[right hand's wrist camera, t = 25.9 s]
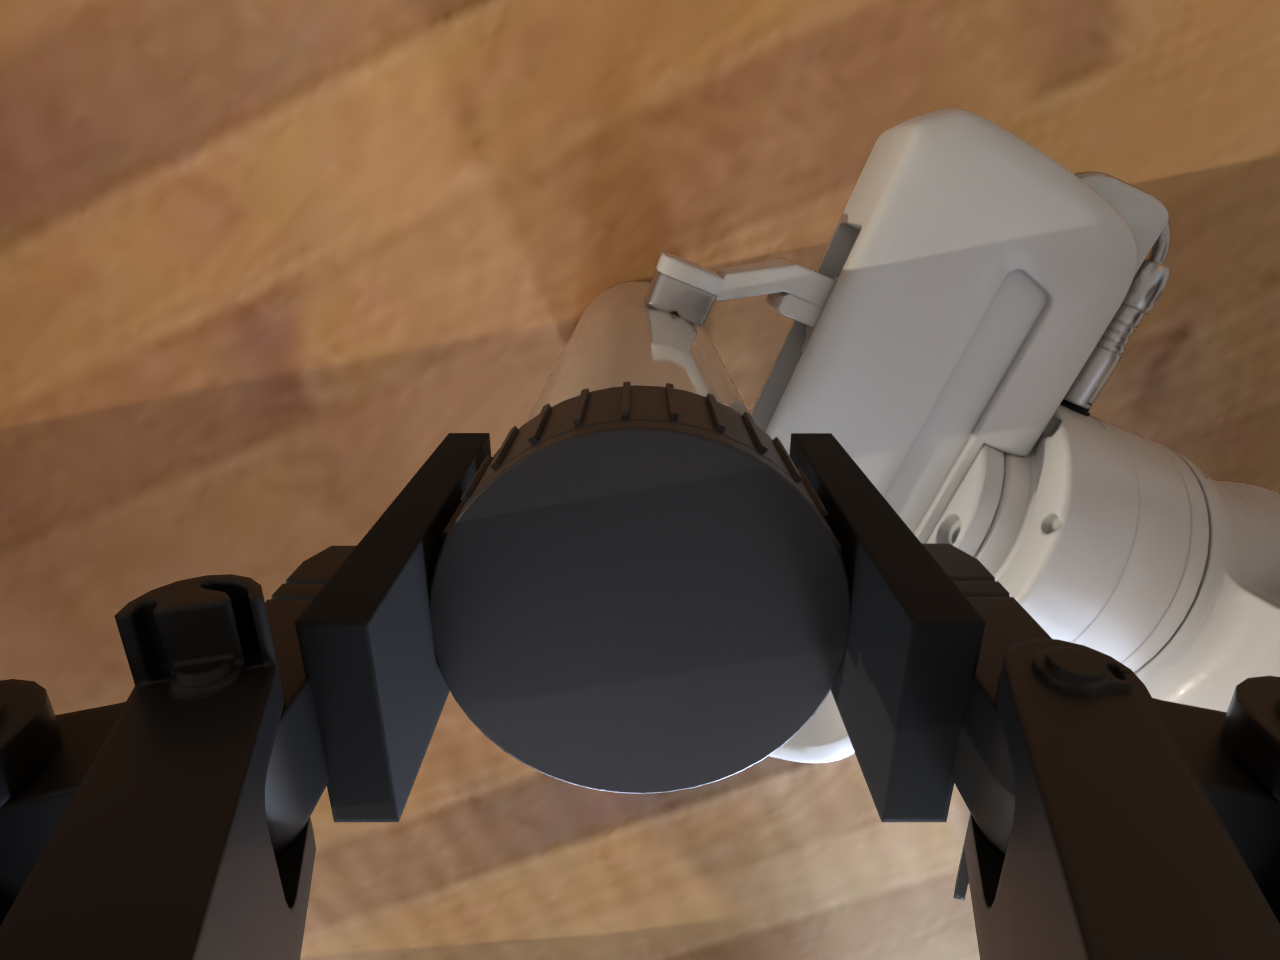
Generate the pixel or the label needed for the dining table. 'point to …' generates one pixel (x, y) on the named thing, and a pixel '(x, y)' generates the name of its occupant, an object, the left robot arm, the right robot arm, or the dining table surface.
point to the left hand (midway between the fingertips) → (612, 382)
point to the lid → (640, 593)
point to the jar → (637, 352)
